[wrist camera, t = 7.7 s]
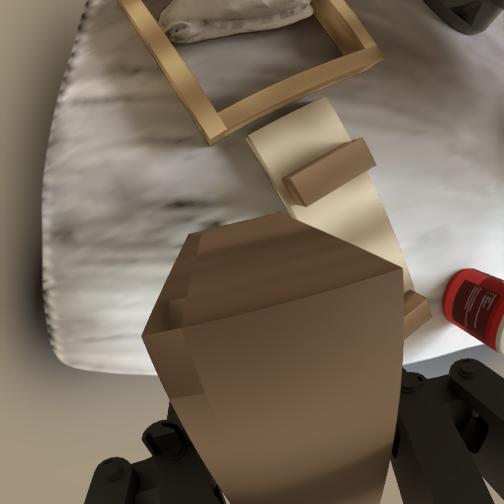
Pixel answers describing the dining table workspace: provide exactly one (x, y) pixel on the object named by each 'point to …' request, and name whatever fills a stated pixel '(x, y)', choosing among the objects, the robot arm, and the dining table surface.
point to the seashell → (227, 17)
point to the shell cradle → (271, 98)
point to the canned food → (477, 306)
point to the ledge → (342, 202)
